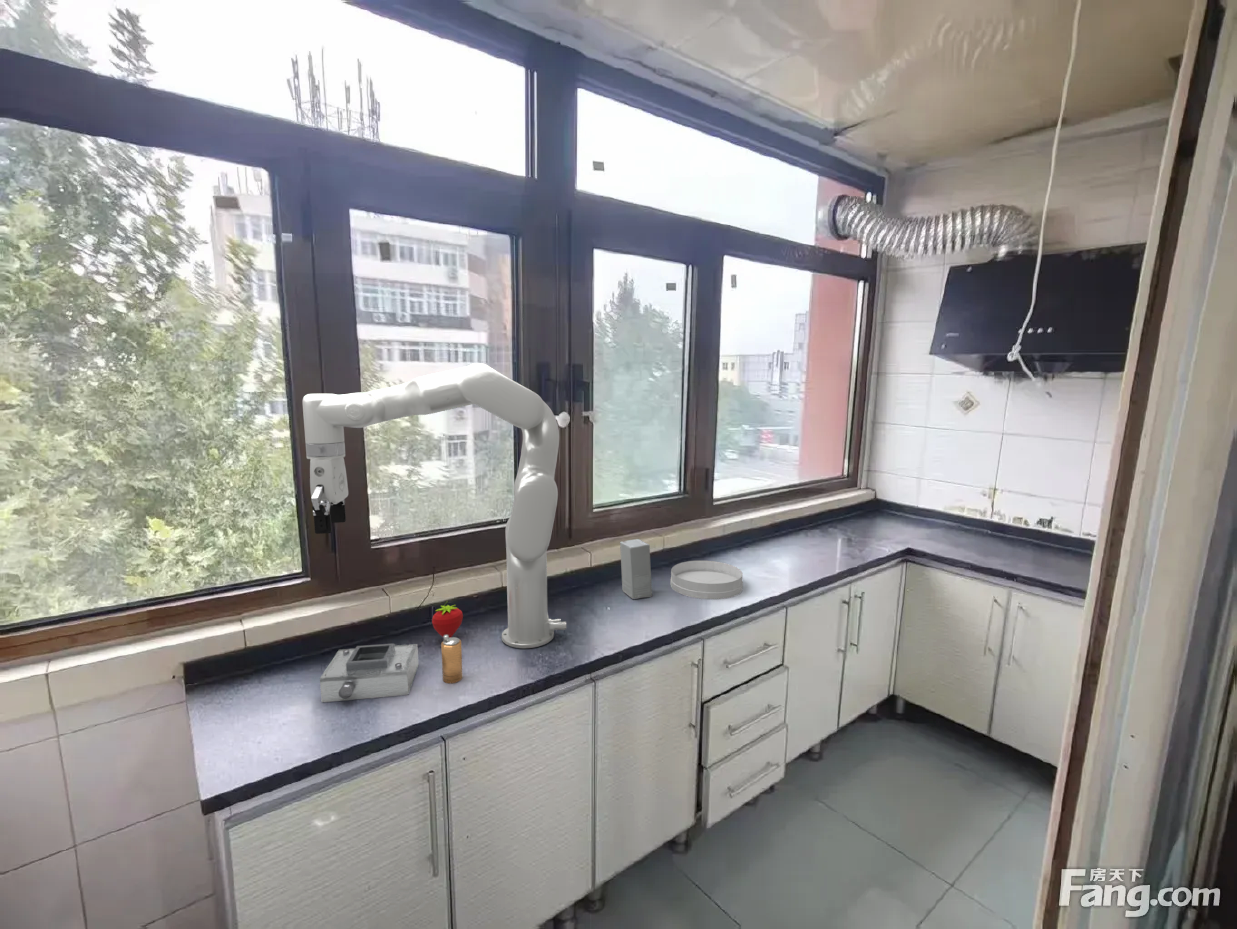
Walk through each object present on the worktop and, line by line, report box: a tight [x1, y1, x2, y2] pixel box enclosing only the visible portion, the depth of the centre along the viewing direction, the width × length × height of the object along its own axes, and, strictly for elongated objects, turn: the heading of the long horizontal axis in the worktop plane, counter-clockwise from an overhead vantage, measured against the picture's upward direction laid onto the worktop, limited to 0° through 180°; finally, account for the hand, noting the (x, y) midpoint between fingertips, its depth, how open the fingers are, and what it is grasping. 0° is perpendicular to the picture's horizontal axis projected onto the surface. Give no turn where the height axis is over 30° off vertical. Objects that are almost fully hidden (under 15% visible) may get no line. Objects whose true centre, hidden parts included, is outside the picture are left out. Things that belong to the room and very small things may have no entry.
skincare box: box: [619, 538, 653, 600], centre depth 165 cm, size 8×7×16 cm
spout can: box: [440, 635, 464, 684], centre depth 117 cm, size 4×4×10 cm
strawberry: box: [431, 600, 464, 639], centre depth 135 cm, size 6×8×10 cm
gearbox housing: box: [319, 643, 420, 703], centre depth 114 cm, size 16×14×6 cm
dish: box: [669, 560, 744, 600], centre depth 173 cm, size 22×22×5 cm
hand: (331, 527), depth 124 cm, fingers open, 9 cm apart
